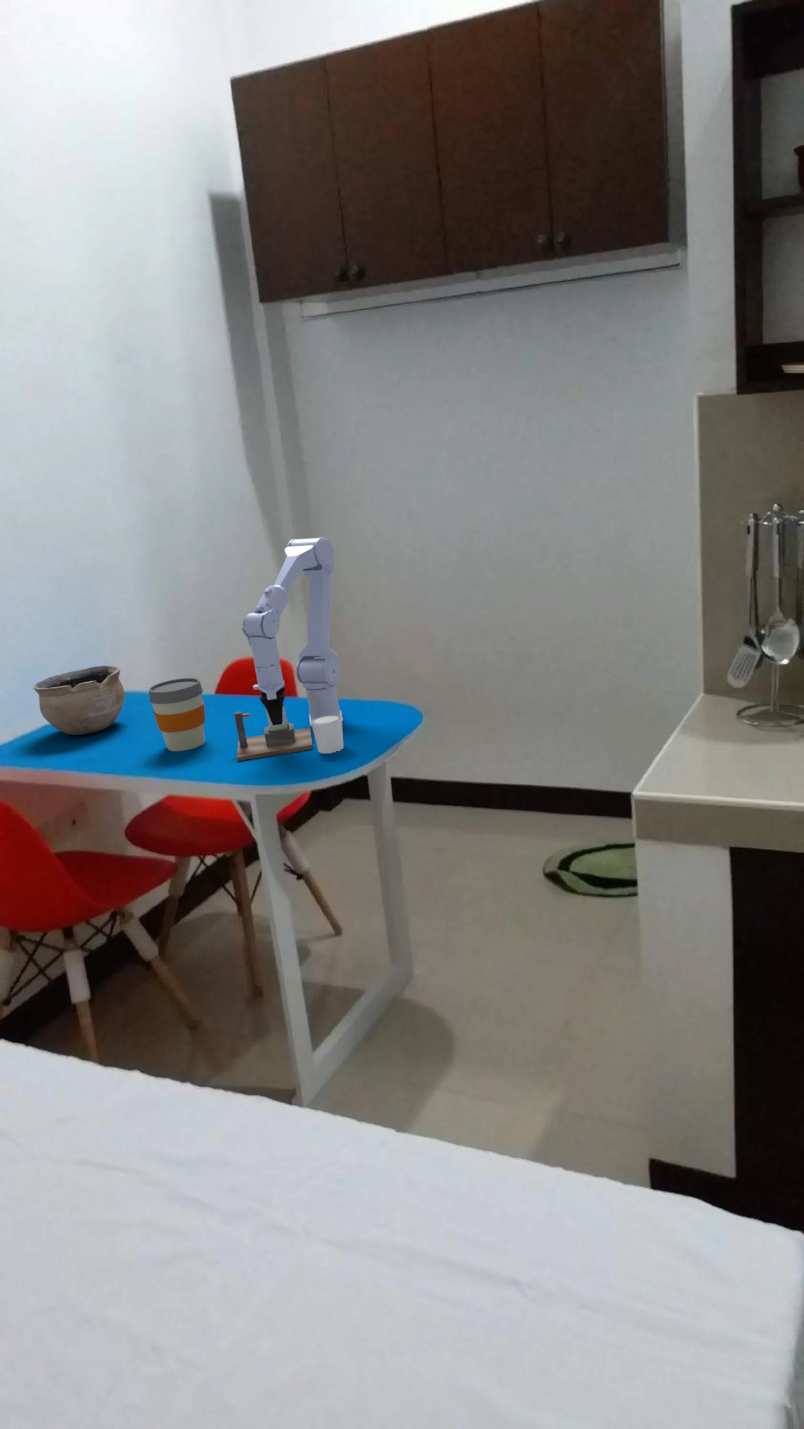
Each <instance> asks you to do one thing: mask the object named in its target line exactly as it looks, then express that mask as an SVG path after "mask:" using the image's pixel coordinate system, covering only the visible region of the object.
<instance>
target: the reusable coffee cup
mask: <svg viewBox="0 0 804 1429" xmlns="http://www.w3.org/2000/svg"><path fill="white" fill-rule="evenodd" d="M203 693H204V690H203V687H202V684H201V680H200V679H199V678H196V677H183V678H176V679H175V678H174V679H171V680H166V681H161V682H159V683H157V684H154V685H152V686H150V687H149V688H148V697H149V702H150V703H151V704H152V707H153V710H154V711H153V716H154V719H155V720H156V725H157V727H158V730H159V731H160V732H161V733H162V736H163V739H164V742H165V745H166V747H167V750H168V751H171V752H184V751H188V750H192V749H196V748H198V747H201V746H202V745H204V744H205V742H206V737H205V725H204V724H205V722H206V714H205V713H206V711H205V702H204V701H203Z"/></svg>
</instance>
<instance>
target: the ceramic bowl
mask: <svg viewBox="0 0 804 1429" xmlns="http://www.w3.org/2000/svg"><path fill="white" fill-rule="evenodd" d="M120 673H121V669H120V668H119V667H118V666H114V665H113V666H112V665H99V666H91V667H86V668H82V669H78V670H72V671H68V672H65V673H61V674H55V675H53V676H50V677H47V678H45V679H43V680H40V681H38V682H36V683H35V684H33V686H32V688H33V690H35V692H36V693H37V694H38V698H39V699H38V700H39V704H38V705H39V711H40V713H41V715H42V717H43V719H45V721H47V722H48V723H49V724H50V725H51V727H53V728H55V729H56V730H59V731H60V732H63V733H64V734H67V735H76V736H80V735H81V736H82V735H89V734H94V733H97V732H101V731H103V730H106V729H107V728H108V727H111V725H113V724H114V723H115V721H116V720H117V718H118V716H119V715H120V714H121V711H122V709H123V706H124V702H125V697H126V696H125V694H126V693H125V689H124V685H123V684H122V682H121V680H120V678H119V677H120V675H121V674H120Z"/></svg>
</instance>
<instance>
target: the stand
mask: <svg viewBox="0 0 804 1429" xmlns="http://www.w3.org/2000/svg"><path fill="white" fill-rule="evenodd" d="M250 715H251V714H250V713H242V711H236V712H235V711H234V720H235V726H236V731H237V737H238V742H237V749H236V750H237V751H236V752H237V753H236V761H237V762H243V761H248V760H247V759H249V760H254V759H260V758H265V757H266V758H267V757H271V756H272V757H273V756H278V755H285V754H290V753H296V752H302V751H309V750H313V748H314V746H313V737H312V729H311V727H306V728H300V729H298V728H297V729H294V728H295V727H294V723H291V722H287V725H288V730H284V731H278V732H272V733H270V731H269V725H268V726H266V727H264V732H263V733H264V734H263V735H256V736H250V737H249V736H248V737H247V734H246V729H245V724H244V718H249V717H250ZM242 760H243V761H242Z"/></svg>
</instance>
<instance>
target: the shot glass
mask: <svg viewBox="0 0 804 1429" xmlns="http://www.w3.org/2000/svg"><path fill="white" fill-rule="evenodd" d="M311 724H312V727H311V728H312V732H313V734H314V738H315V742H316V747H317V750H318V752H319V753H320V754H333V752H334V753H337V752H336V751H338V752H340V751H342V750H343V749H344V739H343V738H344V737H343V736H344V734H343V722H342V718H341V716H338V715H328V716H322V717H319V718H316V719H314V720H312V721H311ZM341 749H342V750H341Z"/></svg>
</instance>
